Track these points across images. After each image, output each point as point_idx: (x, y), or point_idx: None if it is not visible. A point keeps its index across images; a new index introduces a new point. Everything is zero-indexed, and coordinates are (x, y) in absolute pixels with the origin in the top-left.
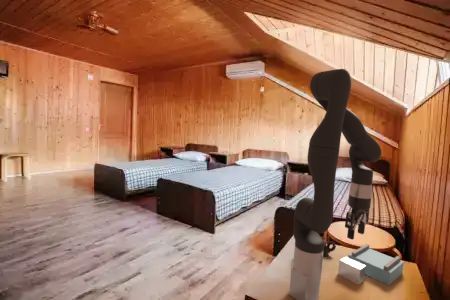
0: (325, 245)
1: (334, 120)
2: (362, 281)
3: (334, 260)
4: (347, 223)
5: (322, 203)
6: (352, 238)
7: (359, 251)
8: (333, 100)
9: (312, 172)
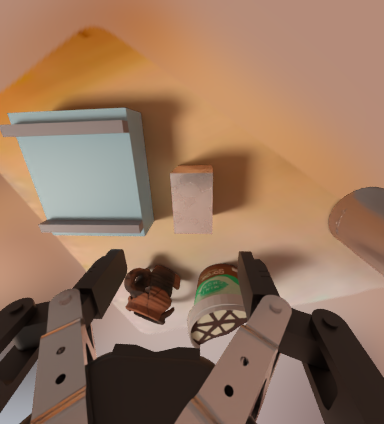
0: (153, 289)
1: None
2: (189, 165)
3: (160, 247)
4: (325, 382)
5: None
6: (252, 255)
7: (107, 224)
8: None
9: None
